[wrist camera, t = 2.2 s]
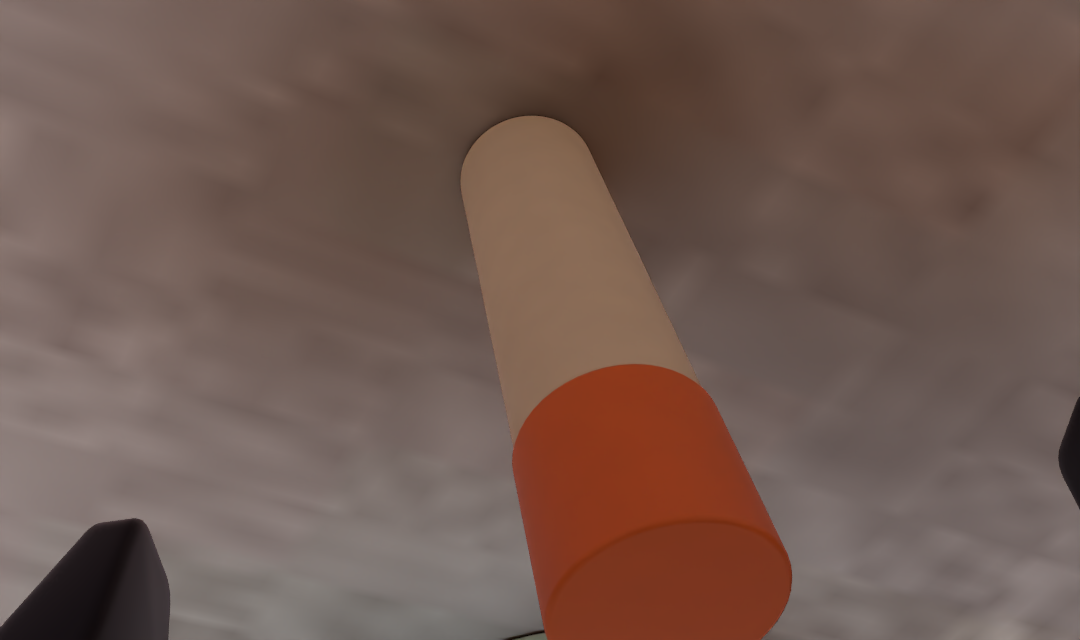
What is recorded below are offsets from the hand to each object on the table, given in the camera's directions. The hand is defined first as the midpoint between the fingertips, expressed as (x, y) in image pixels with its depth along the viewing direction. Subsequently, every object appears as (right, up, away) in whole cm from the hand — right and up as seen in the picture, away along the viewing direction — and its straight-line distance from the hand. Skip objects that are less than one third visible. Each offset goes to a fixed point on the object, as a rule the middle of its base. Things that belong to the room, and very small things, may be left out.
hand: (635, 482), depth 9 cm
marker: (-1, +4, +5) cm, 7 cm away
